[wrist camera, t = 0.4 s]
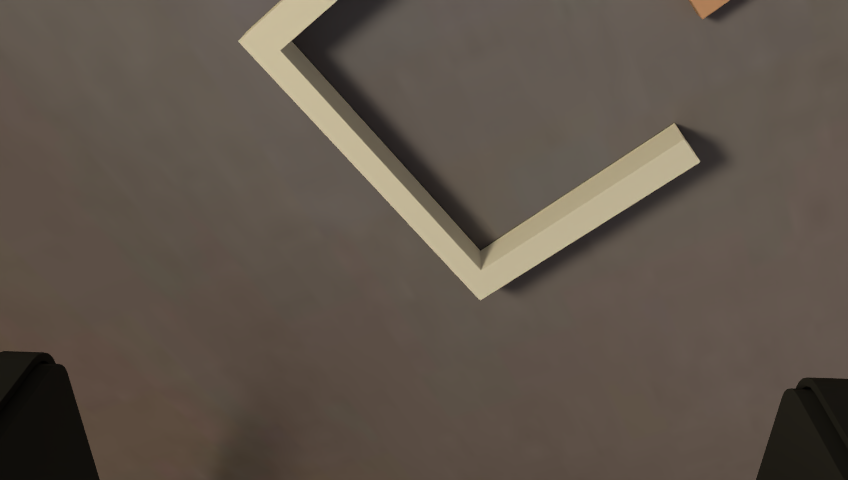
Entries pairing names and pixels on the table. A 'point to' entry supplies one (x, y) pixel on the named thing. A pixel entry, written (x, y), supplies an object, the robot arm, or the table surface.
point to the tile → (706, 6)
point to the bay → (417, 206)
